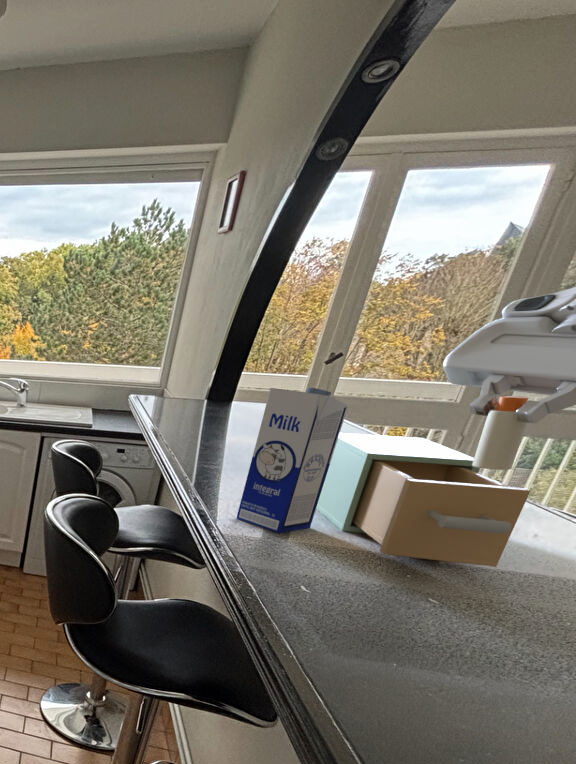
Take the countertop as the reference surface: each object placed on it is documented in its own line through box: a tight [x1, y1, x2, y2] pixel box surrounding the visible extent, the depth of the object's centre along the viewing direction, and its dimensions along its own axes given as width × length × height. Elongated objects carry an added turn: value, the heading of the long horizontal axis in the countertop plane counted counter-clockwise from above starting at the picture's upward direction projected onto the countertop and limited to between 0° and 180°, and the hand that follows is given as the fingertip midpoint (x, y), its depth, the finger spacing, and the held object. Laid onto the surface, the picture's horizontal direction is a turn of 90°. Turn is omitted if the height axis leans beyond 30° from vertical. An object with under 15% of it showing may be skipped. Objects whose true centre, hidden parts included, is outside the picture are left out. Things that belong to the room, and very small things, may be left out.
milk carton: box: [236, 387, 350, 534], centre depth 85 cm, size 7×7×20 cm
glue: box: [472, 395, 529, 471], centre depth 67 cm, size 3×3×8 cm
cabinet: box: [316, 432, 481, 534], centre depth 89 cm, size 16×13×12 cm
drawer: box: [352, 459, 531, 568], centre depth 77 cm, size 19×11×10 cm, turn 160°
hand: (499, 415), depth 66 cm, fingers closed on glue, 3 cm apart
